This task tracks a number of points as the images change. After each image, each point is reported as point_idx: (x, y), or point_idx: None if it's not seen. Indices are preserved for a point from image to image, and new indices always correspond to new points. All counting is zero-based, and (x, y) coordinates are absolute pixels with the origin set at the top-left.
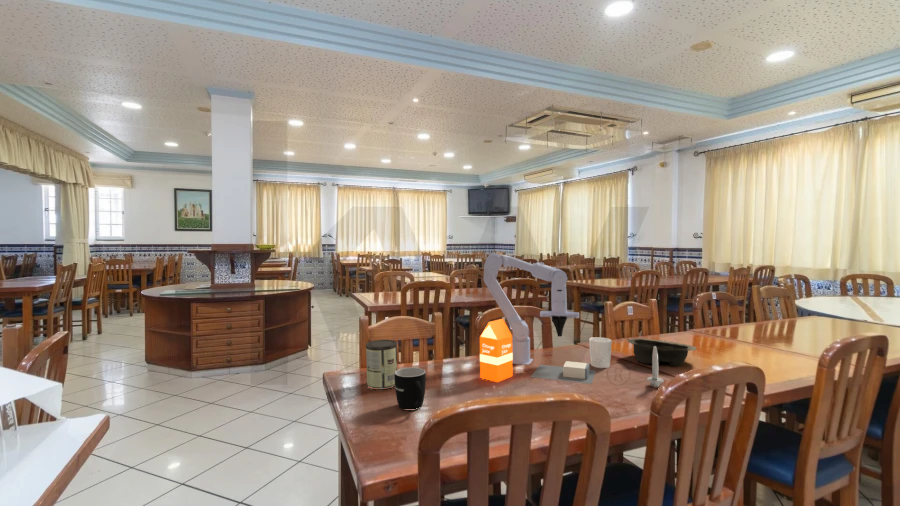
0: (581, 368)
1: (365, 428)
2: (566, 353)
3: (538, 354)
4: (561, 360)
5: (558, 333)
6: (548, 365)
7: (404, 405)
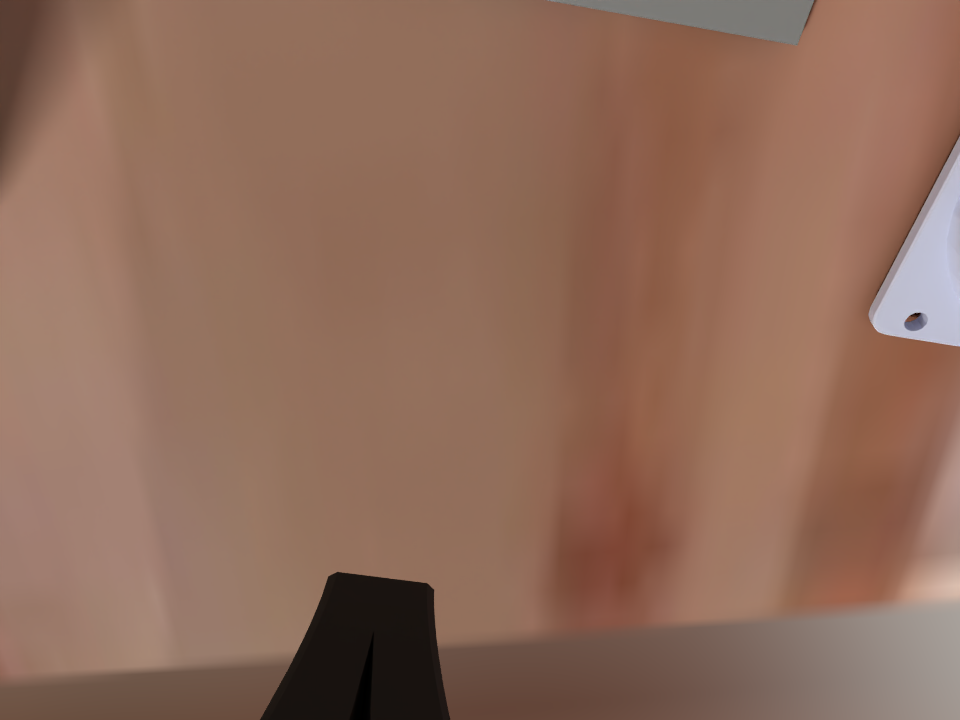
0: None
1: None
2: None
3: (726, 566)
4: (422, 372)
5: (395, 645)
6: (644, 11)
7: None
